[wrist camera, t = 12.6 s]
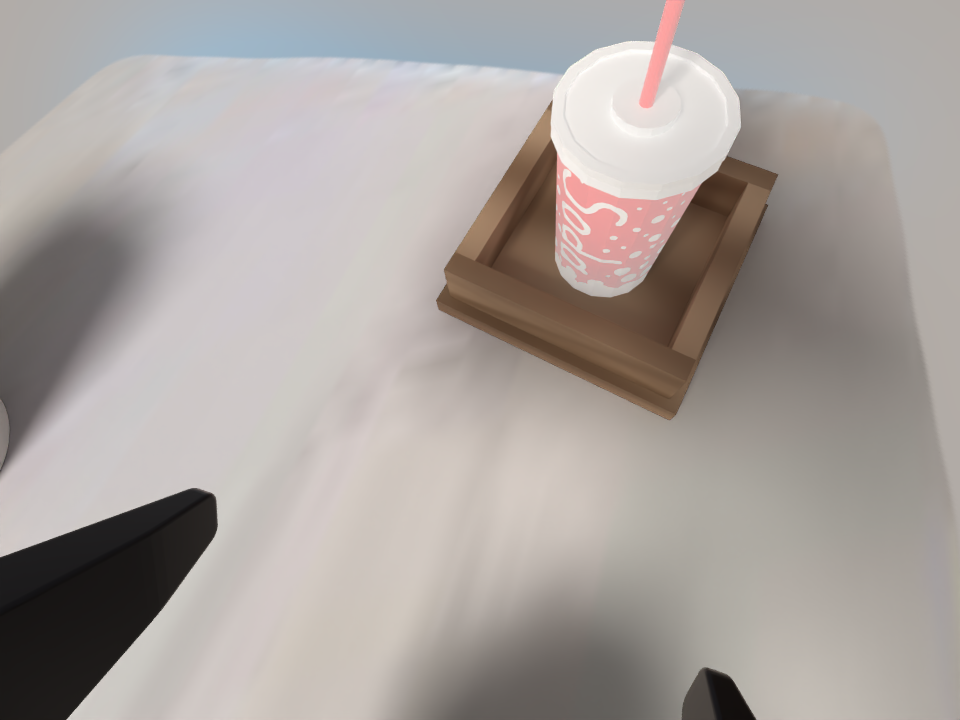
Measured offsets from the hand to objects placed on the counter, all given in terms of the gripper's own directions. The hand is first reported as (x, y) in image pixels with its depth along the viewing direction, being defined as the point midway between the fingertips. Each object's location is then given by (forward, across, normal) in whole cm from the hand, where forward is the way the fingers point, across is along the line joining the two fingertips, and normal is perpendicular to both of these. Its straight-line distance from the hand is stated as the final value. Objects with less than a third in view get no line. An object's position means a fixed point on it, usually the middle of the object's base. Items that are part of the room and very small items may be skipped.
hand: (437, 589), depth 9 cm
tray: (+21, -1, -2) cm, 21 cm away
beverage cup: (+20, -1, -2) cm, 20 cm away
